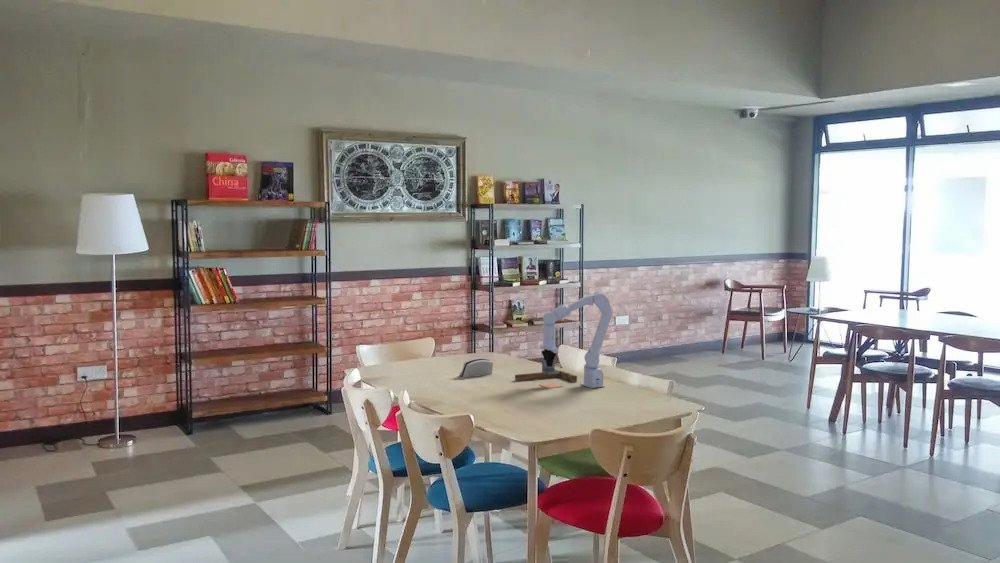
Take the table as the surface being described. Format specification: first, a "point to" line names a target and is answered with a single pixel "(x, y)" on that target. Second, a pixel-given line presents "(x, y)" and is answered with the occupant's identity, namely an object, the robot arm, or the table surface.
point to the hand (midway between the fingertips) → (548, 366)
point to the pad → (550, 385)
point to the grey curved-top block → (477, 367)
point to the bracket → (549, 368)
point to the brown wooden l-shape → (545, 376)
